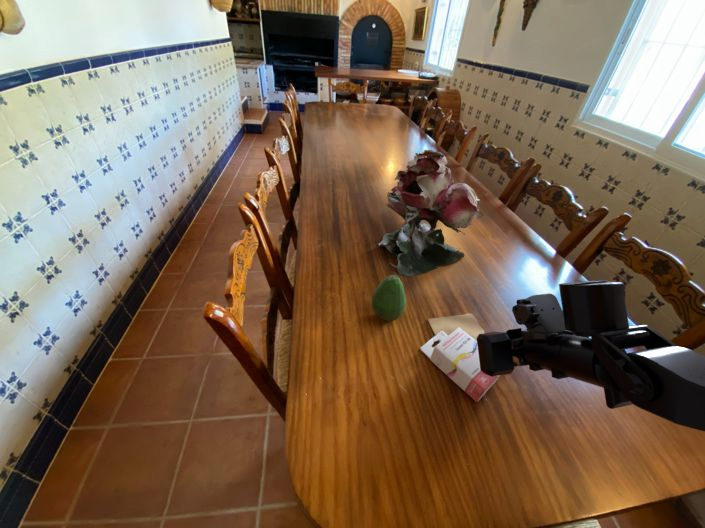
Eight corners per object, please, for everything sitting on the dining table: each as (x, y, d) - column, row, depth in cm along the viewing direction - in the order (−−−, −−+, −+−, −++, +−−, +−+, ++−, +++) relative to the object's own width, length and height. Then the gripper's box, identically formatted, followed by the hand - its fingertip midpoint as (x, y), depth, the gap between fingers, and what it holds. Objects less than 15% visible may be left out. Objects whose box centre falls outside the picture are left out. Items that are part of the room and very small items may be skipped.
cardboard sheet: (509, 372, 62) (510, 371, 62) (457, 381, 60) (458, 379, 60) (471, 314, 74) (471, 313, 74) (427, 320, 72) (427, 318, 72)
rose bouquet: (477, 254, 94) (516, 161, 75) (404, 282, 82) (429, 179, 63) (424, 216, 111) (445, 132, 92) (357, 234, 98) (365, 142, 79)
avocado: (395, 301, 76) (403, 265, 69) (406, 325, 70) (417, 289, 63) (365, 305, 74) (370, 269, 67) (374, 330, 69) (381, 294, 61)
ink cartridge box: (485, 390, 53) (422, 336, 61) (476, 403, 56) (417, 350, 65) (509, 364, 58) (447, 317, 66) (499, 377, 61) (441, 331, 69)
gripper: (621, 291, 43) (535, 291, 58) (508, 305, 39) (448, 301, 54) (634, 370, 42) (543, 348, 57) (520, 391, 38) (456, 362, 54)
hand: (499, 339), depth 56 cm, fingers closed
